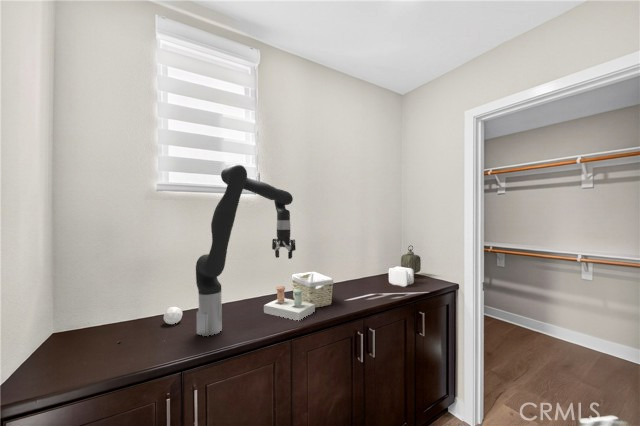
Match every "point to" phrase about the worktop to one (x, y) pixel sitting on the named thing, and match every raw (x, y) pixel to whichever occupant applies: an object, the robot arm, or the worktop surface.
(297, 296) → the sage plunger
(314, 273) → the storage basket
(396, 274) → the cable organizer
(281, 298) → the terracotta plunger
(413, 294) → the worktop surface
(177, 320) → the geometric ball
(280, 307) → the panel
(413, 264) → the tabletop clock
